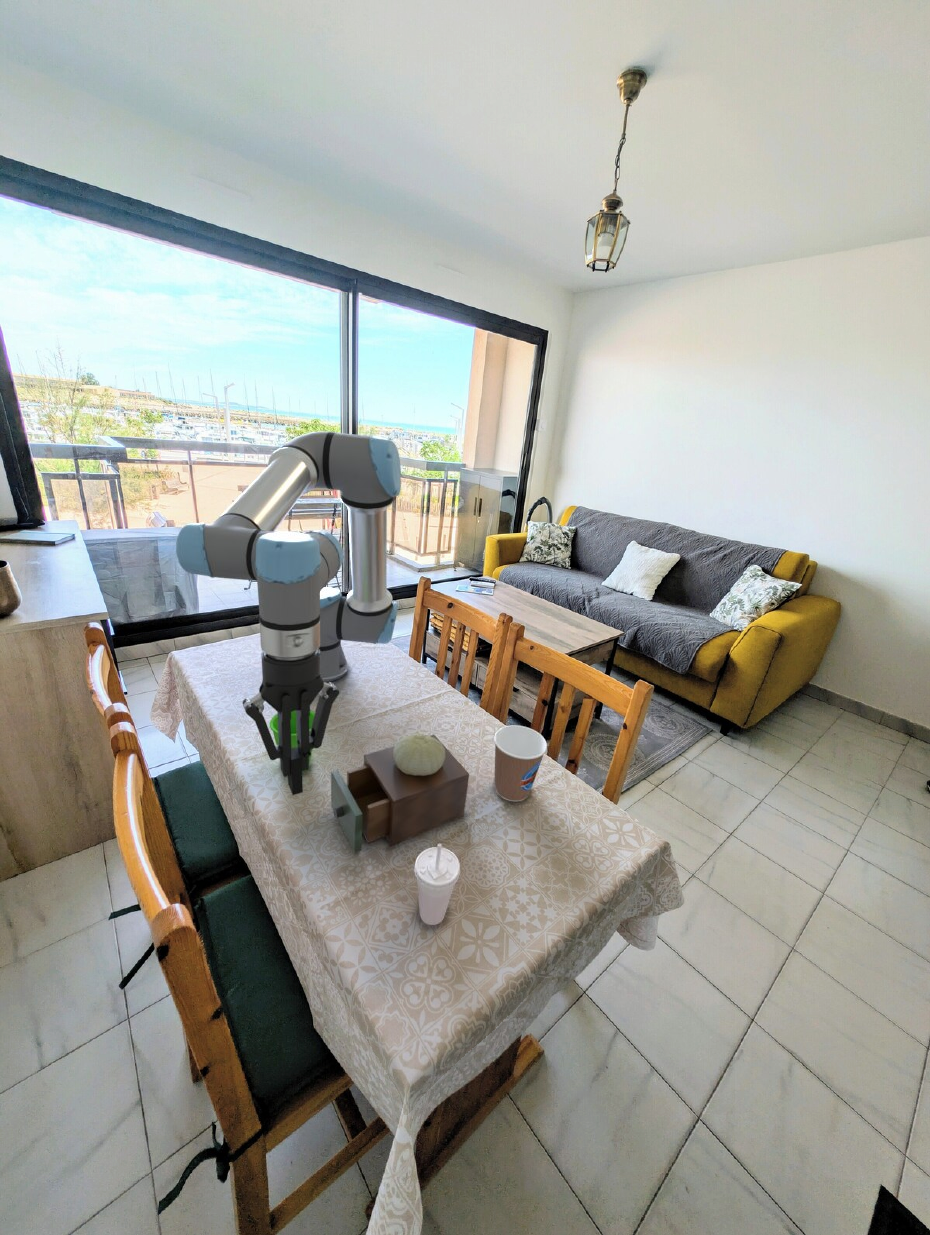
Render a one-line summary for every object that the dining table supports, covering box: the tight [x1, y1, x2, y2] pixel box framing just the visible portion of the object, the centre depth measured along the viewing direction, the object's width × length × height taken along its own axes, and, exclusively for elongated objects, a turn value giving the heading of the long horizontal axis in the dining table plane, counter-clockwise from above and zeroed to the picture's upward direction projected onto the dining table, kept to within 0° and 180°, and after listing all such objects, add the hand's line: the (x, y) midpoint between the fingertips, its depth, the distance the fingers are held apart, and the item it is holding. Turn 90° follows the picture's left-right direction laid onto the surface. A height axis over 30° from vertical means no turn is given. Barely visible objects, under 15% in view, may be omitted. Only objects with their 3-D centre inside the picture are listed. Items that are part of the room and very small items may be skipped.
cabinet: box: [362, 734, 470, 847], centre depth 86 cm, size 15×13×10 cm
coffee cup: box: [493, 724, 548, 803], centre depth 93 cm, size 10×10×12 cm
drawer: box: [330, 765, 391, 854], centre depth 82 cm, size 15×12×8 cm
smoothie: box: [414, 843, 461, 926], centre depth 67 cm, size 6×6×14 cm
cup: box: [269, 709, 315, 774], centre depth 93 cm, size 9×9×11 cm
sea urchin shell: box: [393, 732, 445, 776], centre depth 84 cm, size 9×8×8 cm
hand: (295, 788), depth 72 cm, fingers closed
